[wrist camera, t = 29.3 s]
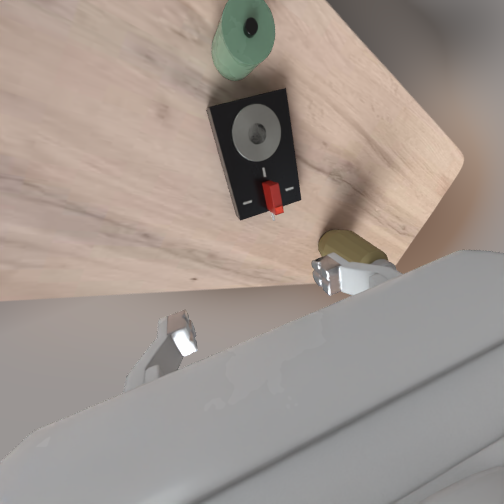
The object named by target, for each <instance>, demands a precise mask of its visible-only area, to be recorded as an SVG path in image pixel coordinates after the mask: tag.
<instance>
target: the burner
mask: <svg viewBox="0 0 504 504" xmlns="http://www.w3.org/2000/svg"><path fill="white" fill-rule="evenodd" d="M231 134H232V141H233V144H234V146H235V148H236V150H237V151H238V153H239V154H240V155H241V156H242V157H244V158H245V159H247V160H250V161H263V160H265V159H267V158H269V157H270V156H271V155H272V154H273V153H274V152H275V151H276V149H277V148H278V145H279V143H280V139H281V127H280V123H279V120H278V118H277V116H276V115H275V113H274V112H273V111H272V110H271V109H270V108H268V107H267V106H265V105H262V104H251V105H248V106H246V107H244V108H243V109H242V110H241V111H240V112H239V113H238V114H237V115H236V117H235V119H234V121H233V124H232V131H231Z"/></svg>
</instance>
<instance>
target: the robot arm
mask: <svg viewBox="0 0 504 504" xmlns="http://www.w3.org/2000/svg"><path fill="white" fill-rule="evenodd" d="M311 264H312V267H313V268H314V271H313V277H314V280H315V282H316V283H317V284H318V285H319V286H321V287H323V290H324V291H325V292H326V293H327V294H328V295H329V296H330V295H333V294H335V293H338V292H340V291H342V292H344V293H347V294H350V295H353V296H350V297H348V298H346V299H343V300H341V301H339V302H336V303H334V304H332V305H329V306H327V307H325V308H322V309H320V310H318V311H315V312H313V313H310V314H308V315H306V316H303V317H301V318H299V319H296V320H294V321H292V322H289V323H287V324H285V325H282V326H280V327H277V328H275V329H273V330H270V331H268V332H266V333H263V334H261V335H259V336H256V337H254V338H251V339H249V340H247V341H244V342H242V343H240V344H237V345H235V346H233V347H230V348H228V349H226V350H223V351H221V352H218V353H216V354H214V355H211V356H210V357H207V358H204V359H202V360H200V361H197V362H196V363H193V364H190V365H188V366H186V367H183V368H181V369H178V368H179V366H180V363H181V361H182V359H183V357H184V356H187V355H189V354H191V353H194V352H196V351H197V342H196V340H195V337H196V333H195V329H194V326H193V323H192V321H191V320H189V316H188V313H187V311H186V310H183V311H180V312H177V313H175V314H172V315H169V316H166V317H163V318H161V319H159V321H158V332H157V339H156V340H154V341H153V343H152V344H151V345H150V347H149V348H148V349H147V351H146V352H145V353H144V354H143V356H142V357H141V358H140V359H139V361H138V362H137V363H136V365H135V366H134V367H133V369H132V370H131V371H130V372H129V374H128V375H127V377H126V381H125V386H124V391H123V393H122V394H120V395H117V396H115V397H113V398H110V399H108V400H105V401H103V402H101V403H98V404H96V405H94V406H91V407H89V408H87V409H84V410H82V411H80V412H77V413H75V414H72V415H70V416H68V417H66V418H63V419H61V420H58V421H56V422H53V423H51V424H48V425H46V426H43V427H41V428H40V429H37V430H35V431H34V432H32V433H31V434H29V435H28V436H27V437H26V438H25V439H24V440H23V441H21V442H20V443H19V444H18V445H17V446H16V447H15V448H14V449H13V450H12V451H11V452H10V453H9V454H8V455H7V456H6V457H5V458H4V459H3V460H2V461H1V462H0V504H504V253H500V252H491V251H480V250H460V251H456V252H454V253H452V254H449V255H447V256H445V257H442V258H440V259H437V260H435V261H433V262H431V263H428V264H426V265H423V266H421V267H419V268H417V269H414V270H412V271H410V272H407V273H405V274H402V273H400V272H398V271H397V270H395V269H393V268H391V267H386V266H379V265H372V264H365V263H357V262H348V261H347V260H345V259H344V258H342V257H340V256H339V255H337V254H336V253H333V252H332V253H330V254H328V255H326V256H323V257H321V258H318V259H316V260H313V261H312V263H311Z"/></svg>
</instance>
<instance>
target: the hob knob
mask: <svg viewBox="0 0 504 504" xmlns="http://www.w3.org/2000/svg"><path fill="white" fill-rule="evenodd" d="M262 185H263V190H264V195H265V200H266V204H267V209H268V210H269V211H270V212H272V213H273V214H275V215H278V214H281V213H283V212H284V211H283V205H282V200H281V194H280V188H279V184H278V183H276V182H273V181H270V180H269V181H266V182H263V183H262Z"/></svg>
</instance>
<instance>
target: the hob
mask: <svg viewBox="0 0 504 504" xmlns="http://www.w3.org/2000/svg"><path fill="white" fill-rule="evenodd" d="M251 104H262V105H265V106H267V107H268V108H270V109H271V110H272V111H273V112H274V113H275V115H276V116H277V118H278V120H279V123H280V127H281V139H280V143H279V145H278V148H277V149H276V151H275V152H274V153H273V154H272V155H271V156H270V157H269V158H267V159H265V160H263V161H250V160H247V159H245V158H244V157H242V156H241V155H240V154H239V153H238V151H237V150H236V148H235V146H234V144H233V141H232V134H231V131H232V124H233V121H234V119H235V117H236V115H237V114H238V113H239V112H240V111H241V110H242V109H243V108H244V107H246V106H248V105H251ZM206 111H207V114H208V118H209V121H210V125H211V129H212V132H213V136H214V139H215V143H216V146H217V150H218V153H219V157H220V160H221V164H222V167H223V171H224V175H225V178H226V182H227V185H228V189H229V192H230V196H231V199H232V203H233V206H234V210H235V213H236V216H237V217H238V218H239V219H240V220H243V219H246V218H249V217H252V216H255V215H258V214H261V213H264V212H267V211H269V210H268V209H267V204H266V200H265V195H264V190H263V185H262V183H263V182H266V181H269V180H270V181H273V182H276V183H278V184H279V188H280V194H281V200H282V205H283V206H285V205H288V204H291V203H294V202H297V201H300V200H301V194H300V187H299V180H298V173H297V165H296V158H295V151H294V144H293V136H292V129H291V122H290V115H289V107H288V100H287V93H286V88H284V89H280V90H276V91H272V92H268V93H264V94H260V95H256V96H252V97H248V98H244V99H240V100H236V101H232V102H228V103H224V104H220V105H216V106H212V107H209V108H208V109H207V110H206ZM271 214H272V219H273V221H274V220H275V218H274V214H273V213H271Z"/></svg>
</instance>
